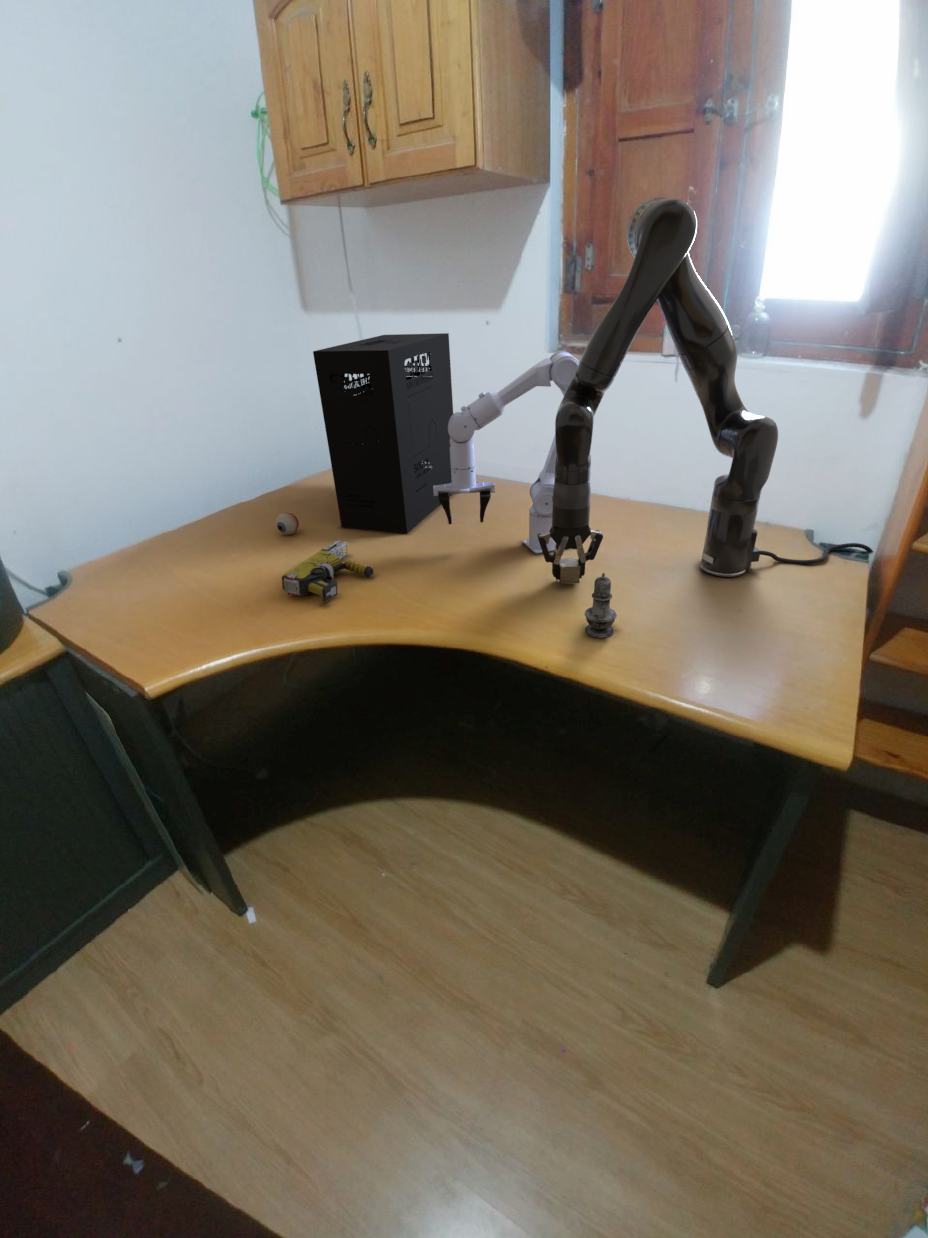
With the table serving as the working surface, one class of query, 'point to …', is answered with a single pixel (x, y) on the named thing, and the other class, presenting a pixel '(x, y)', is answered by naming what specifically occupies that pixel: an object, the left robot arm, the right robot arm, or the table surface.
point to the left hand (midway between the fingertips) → (465, 521)
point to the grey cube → (569, 571)
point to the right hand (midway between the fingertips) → (568, 577)
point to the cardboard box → (387, 427)
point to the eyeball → (287, 523)
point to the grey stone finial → (600, 610)
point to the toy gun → (321, 572)
